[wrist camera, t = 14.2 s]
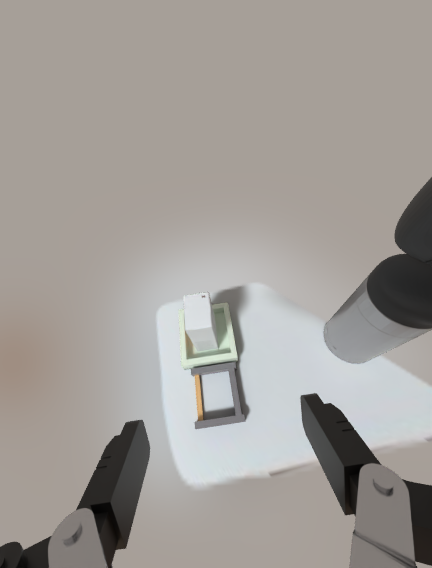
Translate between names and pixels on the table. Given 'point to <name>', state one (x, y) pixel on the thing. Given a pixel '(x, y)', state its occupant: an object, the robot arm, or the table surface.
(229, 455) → the table surface
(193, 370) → the grey shallow square tray
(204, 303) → the skincare box
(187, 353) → the parts tray
